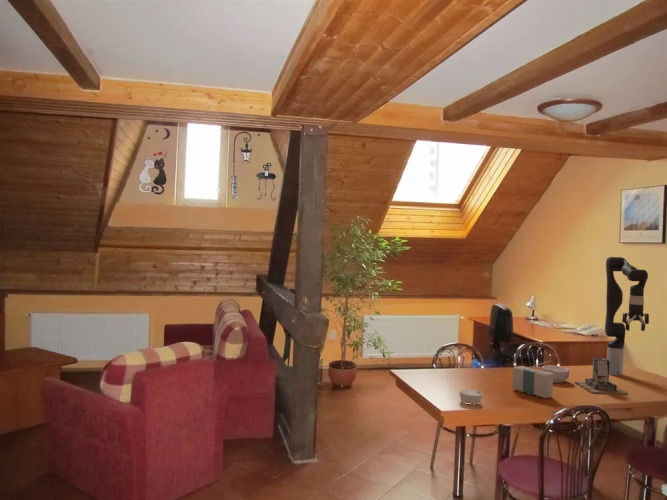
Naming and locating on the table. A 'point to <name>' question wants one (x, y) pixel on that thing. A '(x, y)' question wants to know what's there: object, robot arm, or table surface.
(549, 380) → the stereo radio cassette player
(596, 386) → the collar board
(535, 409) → the table surface
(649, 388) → the table surface
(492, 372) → the table surface
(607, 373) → the coffee box
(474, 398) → the ramekin
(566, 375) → the paper bowls
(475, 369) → the table surface
